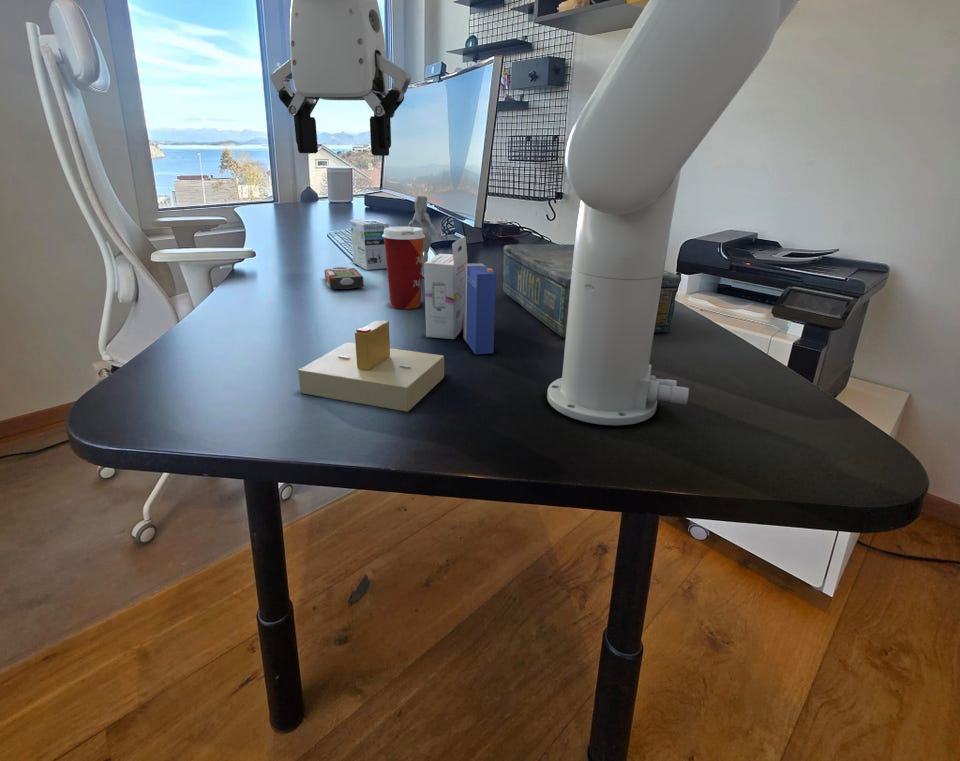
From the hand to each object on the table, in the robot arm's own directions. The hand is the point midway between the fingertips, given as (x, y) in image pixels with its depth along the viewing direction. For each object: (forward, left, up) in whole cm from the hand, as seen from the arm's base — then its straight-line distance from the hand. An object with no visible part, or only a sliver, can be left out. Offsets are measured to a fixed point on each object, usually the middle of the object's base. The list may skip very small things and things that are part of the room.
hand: (343, 154), depth 64 cm
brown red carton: (+27, -41, -26) cm, 56 cm away
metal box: (-24, -39, -26) cm, 53 cm away
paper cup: (+7, -30, -26) cm, 41 cm away
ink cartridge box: (-6, -18, -26) cm, 33 cm away
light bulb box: (+31, -61, -26) cm, 73 cm away
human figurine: (+14, -54, -26) cm, 62 cm away
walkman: (-13, -13, -26) cm, 32 cm away
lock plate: (-6, +6, -26) cm, 28 cm away
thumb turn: (-6, +6, -23) cm, 25 cm away
